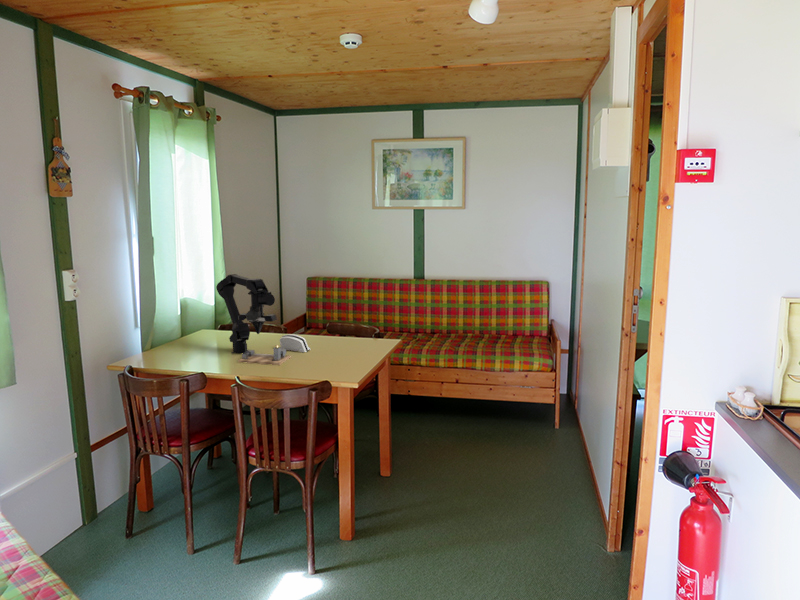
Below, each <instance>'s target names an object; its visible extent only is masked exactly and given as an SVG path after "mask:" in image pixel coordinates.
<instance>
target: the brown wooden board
mask: <svg viewBox="0 0 800 600" xmlns="http://www.w3.org/2000/svg"><path fill="white" fill-rule="evenodd" d="M269 354H270V353H269ZM270 355H273V354H270ZM291 357H292V356H291V355H290V354H289V355H288V354H286V355H285V358H281V359H280V360H279V361H278V360H274V358H271V357H254V356H248V358H247V359H242V357H241V358H240V359H238V360H237V363H238V362H247V363H246V364H252V363H259V364H258V365H268V364H272V365H271V366H281V365H282V364H283V362H284V363H285V362H287V361H288V360H290V359H292V358H291ZM289 358H290V359H289ZM286 360H287V361H286Z"/></svg>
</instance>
